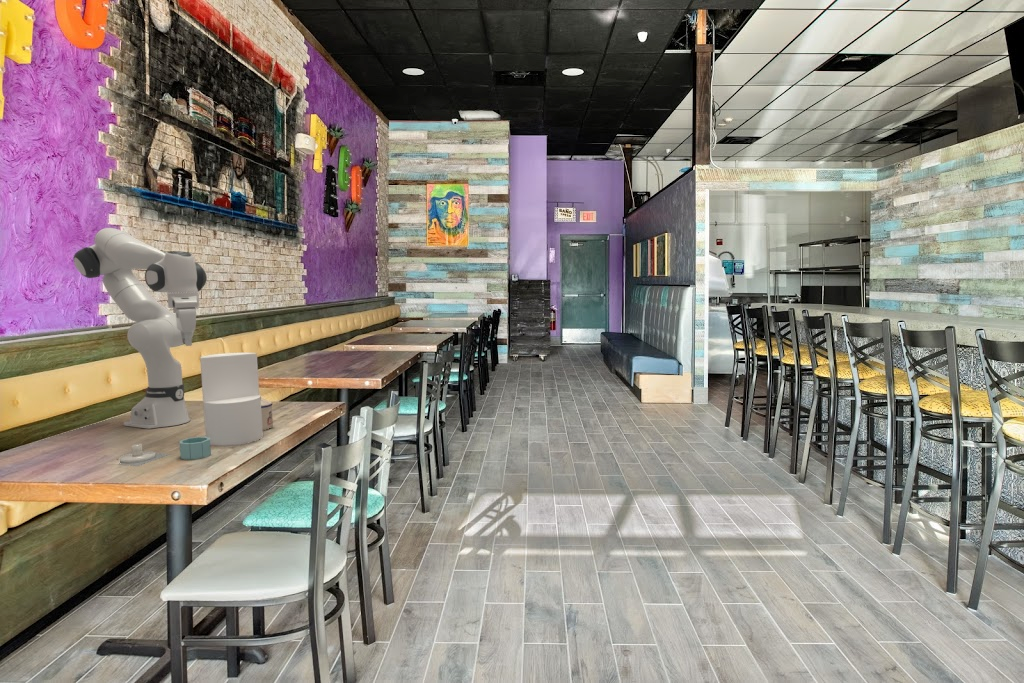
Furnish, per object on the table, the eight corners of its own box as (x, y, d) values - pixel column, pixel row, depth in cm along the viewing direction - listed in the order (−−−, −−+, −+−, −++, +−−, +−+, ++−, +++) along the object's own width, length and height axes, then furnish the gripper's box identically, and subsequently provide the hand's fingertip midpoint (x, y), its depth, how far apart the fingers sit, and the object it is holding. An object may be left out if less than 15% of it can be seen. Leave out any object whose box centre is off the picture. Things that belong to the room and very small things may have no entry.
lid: (112, 462, 178) (111, 448, 177) (137, 453, 186) (136, 440, 186) (137, 463, 176) (136, 449, 175) (162, 455, 184) (161, 441, 184)
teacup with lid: (273, 429, 215) (272, 397, 214) (245, 432, 212) (243, 399, 211) (273, 422, 226) (271, 391, 225) (246, 425, 223) (244, 393, 222)
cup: (174, 459, 180) (173, 443, 180) (194, 452, 188) (193, 436, 188) (197, 461, 179) (196, 444, 178) (216, 453, 186) (215, 437, 186)
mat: (103, 464, 177) (103, 463, 177) (137, 452, 188) (137, 452, 188) (137, 466, 174) (137, 465, 174) (170, 455, 185) (170, 454, 185)
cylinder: (199, 438, 204) (194, 355, 201) (253, 430, 215) (248, 351, 212) (213, 449, 191) (208, 360, 188) (270, 439, 202) (265, 355, 199)
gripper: (170, 302, 203) (173, 343, 205) (175, 302, 186) (178, 347, 188) (191, 301, 207) (194, 342, 208) (198, 301, 190) (201, 346, 191)
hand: (187, 344), depth 198 cm, fingers open, 8 cm apart
